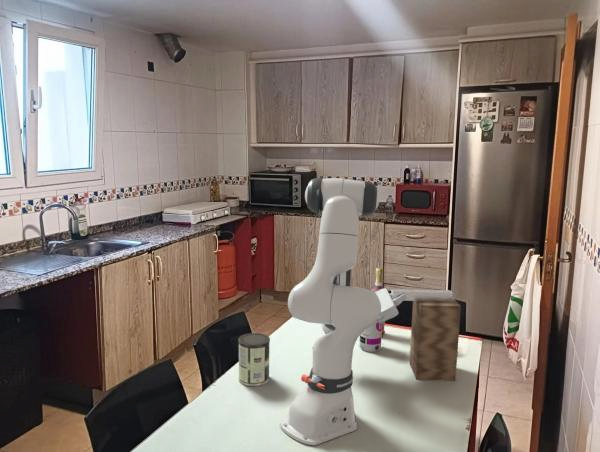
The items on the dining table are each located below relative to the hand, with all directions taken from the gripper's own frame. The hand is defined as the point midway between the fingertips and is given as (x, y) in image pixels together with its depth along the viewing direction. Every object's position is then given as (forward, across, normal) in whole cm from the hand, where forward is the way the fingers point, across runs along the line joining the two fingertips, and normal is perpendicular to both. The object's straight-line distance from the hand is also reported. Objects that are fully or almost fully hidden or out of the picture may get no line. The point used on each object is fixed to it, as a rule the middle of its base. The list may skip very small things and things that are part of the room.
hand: (404, 293), depth 168 cm
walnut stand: (-5, 0, +30) cm, 30 cm away
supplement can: (-21, +19, +20) cm, 35 cm away
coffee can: (-57, -9, -1) cm, 58 cm away
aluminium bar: (+4, 0, +4) cm, 6 cm away
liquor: (-18, +33, +22) cm, 44 cm away
